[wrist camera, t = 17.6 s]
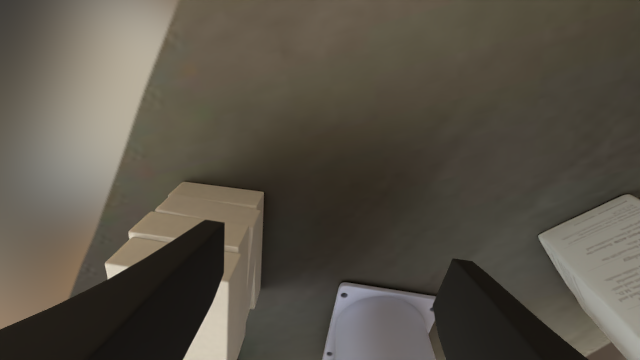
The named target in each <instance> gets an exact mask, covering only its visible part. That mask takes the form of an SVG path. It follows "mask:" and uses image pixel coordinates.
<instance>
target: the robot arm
mask: <svg viewBox="0 0 640 360" xmlns="http://www.w3.org/2000/svg"><path fill="white" fill-rule="evenodd" d="M224 240H225V222H218V221H212V220H206V219H205V220H204V221H202V222H200V223H199V224H197V225H196V226H194V227H193V228H191V229H190V230H188V231H187V232H185V233H183V234H182V235H180V236H179V237H177V238H176V239H174V240H173V241H171V242H170V243H168V244H166V245H165V246H163V247H162V248H160V249H159V250H157V251H155V252H154V253H152V254H151V255H149V256H147V257H146V258H144V259H142V260H141V261H139V262H137V263H135V264H134V265H132V266H130V267H128V268H127V269H125V270H123V271H121V272H120V273H118V274H116V275H115V276H113V277H111V278H109V279H107V280H106V281H104V282H102V283H100V284H98V285H96V286H94V287H92V288H90V289H88V290H86V291H84V292H82V293H80V294H78V295H76V296H74V297H72V298H70V299H68V300H66V301H64V302H62V303H60V304H58V305H55V306H53V307H52V308H49V309H47V310H45V311H42V312H40V313H38V314H35V315H33V316H31V317H28V318H26V319H24V320H21V321H19V322H17V323H14V324H12V325H10V326H7V327H5V328H3V329H1V330H0V360H183V359H184V357H185V355H186V353H187V351H188V349H189V347H190V345H191V343H192V341H193V340H194V338H195V336H196V334H197V332H198V330H199V328H200V326H201V324H202V322H203V321H204V319H205V317H206V315H207V313H208V311H209V309H210V307H211V305H212V303H213V301H214V298H215V295H216V293H217V290H218V288H219V285H220V282H221V280H222V277H223V274H224ZM342 293H346V294H342ZM431 307H433V308H431ZM434 321H436V326H437V330H438V335H439V339H440V342H441V345H442V348H443V351H444V354H445V357H446V360H588V359H587V358H586V357H584V356H583V355H582V354H581V353H579V352H578V351H577V350H576V349H574V348H573V347H572V346H571V345H570V344H568V343H567V342H566V341H565V340H563V339H562V338H561V337H560V336H558V335H557V334H556V333H555V332H554V331H552V330H551V329H550V328H549V327H548V326H547V325H545V324H544V323H543V322H542V321H541V320H540V319H538V318H537V317H536V316H535V315H534V314H533V313H531V312H530V311H529V310H528V309H527V308H526V307H525V306H523V305H522V304H521V303H520V302H519V301H518V300H517V299H515V298H514V297H513V296H512V295H511V294H510V293H509V292H508V291H506V290H505V289H504V288H503V287H502V286H501V285H500V284H499V283H497V282H496V281H495V280H494V279H493V278H492V277H491V276H489V275H488V274H487V273H486V272H485V271H484V270H482V269H481V268H480V267H479V266H477V265H476V264H475V263H474V262H472V261H467V260H460V259H454V258H453V259H452V262H451V264H450V266H449V268H448V271H447V273H446V275H445V278H444V280H443V282H442V285H441V287H440V289H439V291H438V294H437V296H430V295H424V294H417V293H411V292H404V291H398V290H392V289H385V288H379V287H373V286H366V285H360V284H353V283H347V282H344V283H341V284H340V285H339V288H338V293H337V297H336V301H335V305H334V310H333V314H332V318H331V322H330V326H329V331H328V335H327V339H326V343H325V348H324V352H323V356H322V360H436V358H435V355H434V352H433V348H432V345H431V342H430V338H429V335H428V334H429V332H430V330H431V327H432V325H433V323H434Z"/></svg>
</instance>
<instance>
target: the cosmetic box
mask: <svg viewBox="0 0 640 360" xmlns="http://www.w3.org/2000/svg"><path fill="white" fill-rule="evenodd" d="M538 238H539V240H540V242H541V244H542V246H543V247H544V249H545V251H546V252H547V254H548V255H549V257H550V259H551V260H552V262H553V264H554V265H555V267H556V269H557V270H558V272H559V273H560V275H561V277H562V278H563V280H564V281H565V283H566V285H567V286H568V288H569V289H570V290H571V292H572V293H573V294H574V295H575V297H576V299H577V301H578V303H579V305H580V306H581V307H582V309H583V310H584V311H585V312H586V313H587V314H588V316H589V317H590V318H591V319H592V320H593V321H594V322H595V323H596V325H597V326H598V327H599V328H600V329H601V330H602V332H603V333H604V334H605V335H606V336H607V337H608V338H609V339H610V341H611V342H612V343H613V344H614V345H615V346H616V348H617V349H618V350H619V351H620V352H621V353H622V354H623V356H624V357H625V358H626V359H627V360H640V199H638V198H636V197H634V196H632V195H630V194H627V195H622V196H620V197H618V198H616V199H614V200H611V201H609V202H607V203H605V204H603V205H601V206H599V207H596V208H594V209H592V210H590V211H588V212H586V213H584V214H582V215H579V216H577V217H575V218H573V219H571V220H569V221H566V222H564V223H562V224H560V225H558V226H556V227H554V228H552V229H550V230H547V231H545V232H543V233H541V234H539V236H538Z"/></svg>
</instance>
